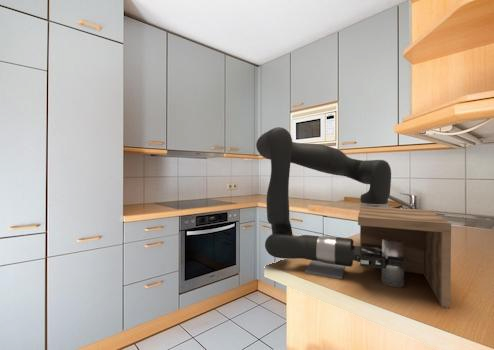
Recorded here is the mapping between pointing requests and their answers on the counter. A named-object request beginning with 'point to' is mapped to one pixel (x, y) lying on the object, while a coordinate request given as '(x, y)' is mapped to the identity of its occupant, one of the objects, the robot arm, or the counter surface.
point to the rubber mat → (325, 269)
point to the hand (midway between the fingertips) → (404, 259)
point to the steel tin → (393, 273)
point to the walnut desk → (414, 242)
